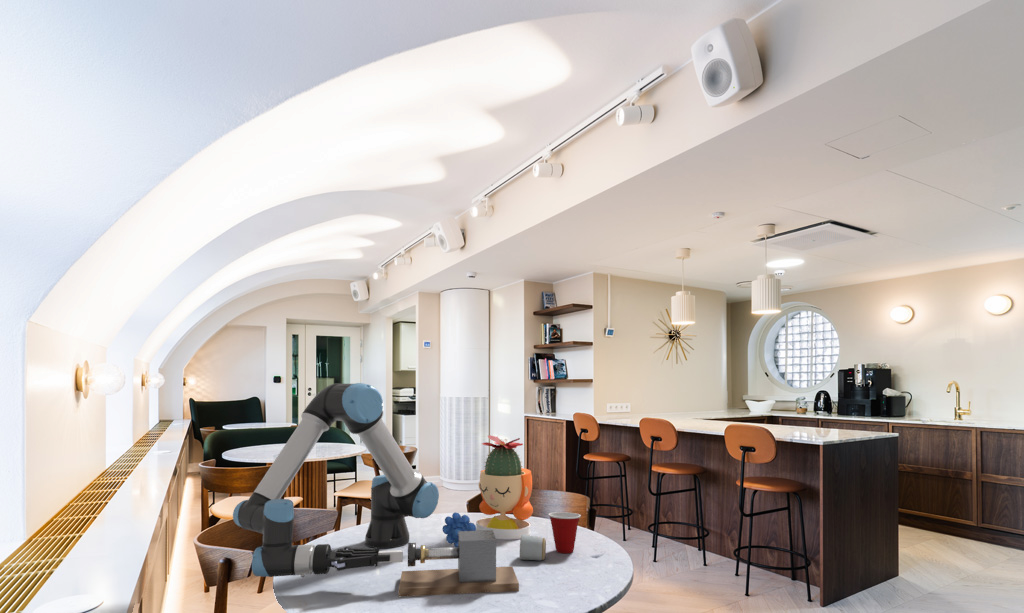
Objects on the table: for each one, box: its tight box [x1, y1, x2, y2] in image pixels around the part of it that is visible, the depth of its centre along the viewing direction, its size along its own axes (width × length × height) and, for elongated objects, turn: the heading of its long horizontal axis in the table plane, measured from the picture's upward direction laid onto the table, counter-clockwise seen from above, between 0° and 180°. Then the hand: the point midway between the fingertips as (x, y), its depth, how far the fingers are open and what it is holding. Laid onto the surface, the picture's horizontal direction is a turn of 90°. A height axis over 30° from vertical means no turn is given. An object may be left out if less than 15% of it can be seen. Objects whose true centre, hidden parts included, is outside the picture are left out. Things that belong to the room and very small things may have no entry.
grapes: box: [442, 511, 476, 547], centre depth 195 cm, size 12×7×12 cm, turn 88°
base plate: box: [398, 566, 520, 598], centre depth 163 cm, size 32×14×2 cm, turn 97°
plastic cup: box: [548, 511, 582, 554], centre depth 194 cm, size 11×11×12 cm
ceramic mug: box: [519, 534, 547, 562], centre depth 186 cm, size 10×8×7 cm
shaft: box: [407, 542, 459, 568], centre depth 163 cm, size 18×6×6 cm, turn 97°
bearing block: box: [457, 530, 497, 583], centre depth 164 cm, size 10×10×11 cm
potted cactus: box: [475, 435, 534, 540], centre depth 220 cm, size 22×22×35 cm
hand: (402, 556), depth 161 cm, fingers closed
